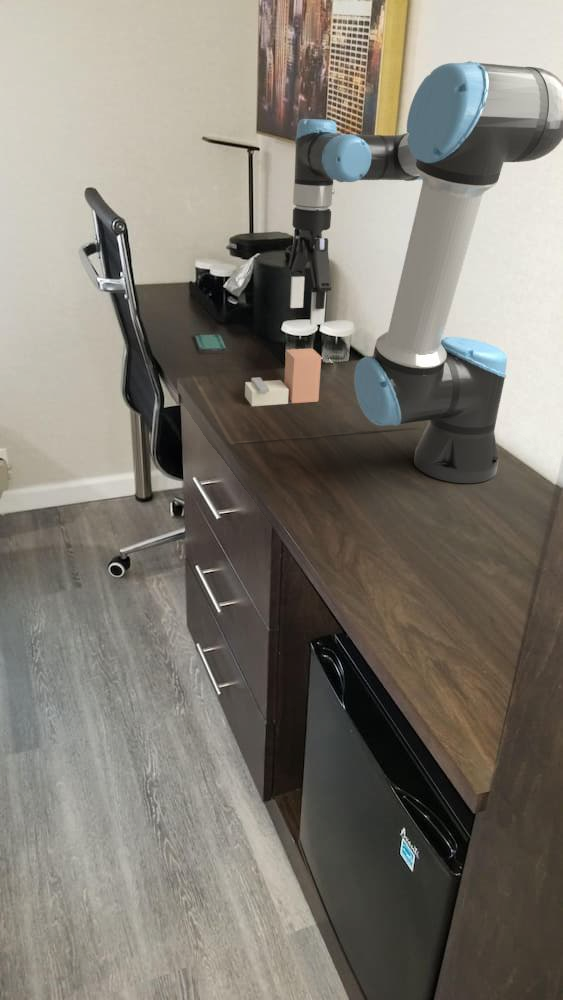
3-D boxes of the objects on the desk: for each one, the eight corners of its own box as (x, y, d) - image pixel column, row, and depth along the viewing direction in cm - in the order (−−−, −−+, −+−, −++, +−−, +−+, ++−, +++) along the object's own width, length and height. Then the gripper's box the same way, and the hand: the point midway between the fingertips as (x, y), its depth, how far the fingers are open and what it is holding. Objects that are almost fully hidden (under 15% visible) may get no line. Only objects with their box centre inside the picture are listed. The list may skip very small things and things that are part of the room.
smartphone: (199, 350, 192) (193, 333, 205) (199, 355, 193) (194, 337, 206) (228, 349, 194) (220, 332, 207) (228, 354, 194) (220, 337, 207)
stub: (318, 401, 164) (321, 356, 159) (292, 403, 162) (294, 358, 158) (309, 391, 169) (312, 348, 164) (283, 393, 167) (285, 349, 163)
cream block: (291, 407, 162) (292, 387, 160) (252, 410, 160) (253, 389, 158) (281, 396, 168) (282, 375, 166) (244, 398, 166) (244, 378, 164)
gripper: (353, 216, 138) (344, 330, 148) (310, 199, 159) (304, 300, 169) (314, 216, 136) (308, 332, 146) (276, 199, 157) (272, 301, 167)
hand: (306, 315), depth 158 cm, fingers open, 13 cm apart
